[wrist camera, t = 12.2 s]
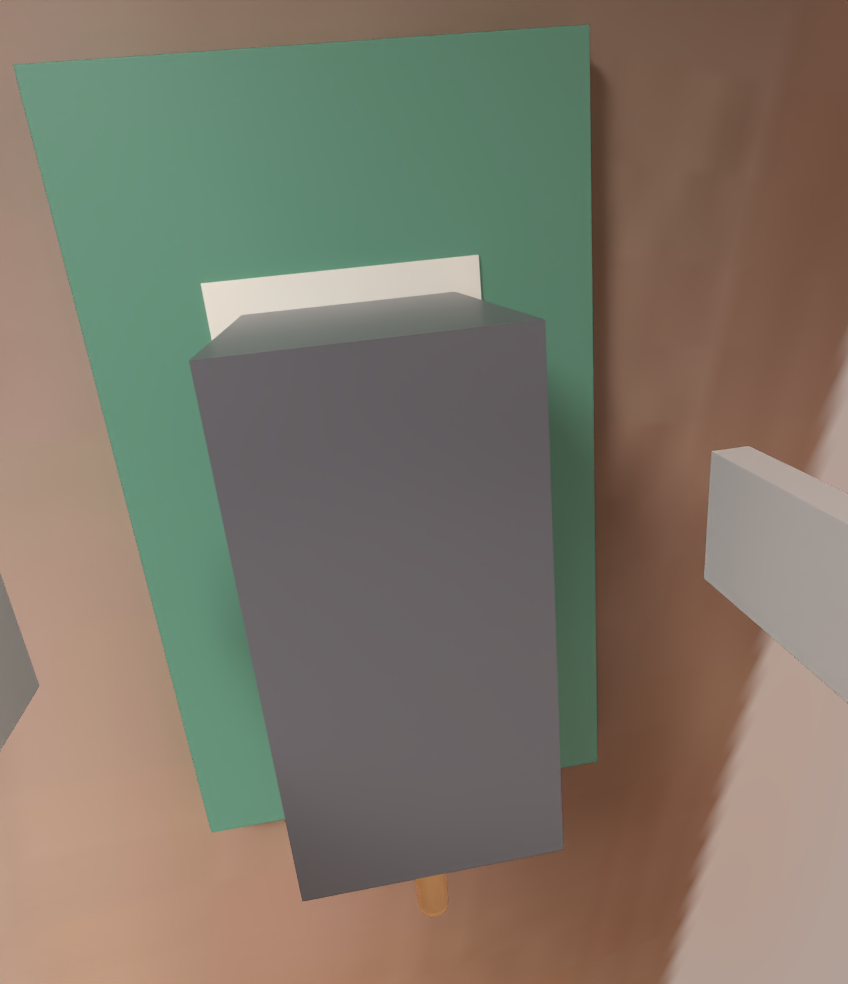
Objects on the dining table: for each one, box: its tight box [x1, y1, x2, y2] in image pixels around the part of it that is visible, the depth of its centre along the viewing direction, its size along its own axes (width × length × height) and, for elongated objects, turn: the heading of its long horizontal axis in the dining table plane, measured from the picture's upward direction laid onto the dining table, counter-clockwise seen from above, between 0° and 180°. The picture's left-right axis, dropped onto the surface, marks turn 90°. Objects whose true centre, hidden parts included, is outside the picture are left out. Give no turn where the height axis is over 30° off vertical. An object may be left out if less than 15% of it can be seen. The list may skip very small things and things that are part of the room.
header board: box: [13, 24, 597, 833], centre depth 17 cm, size 20×12×5 cm, turn 5°
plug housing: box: [189, 292, 563, 917], centre depth 15 cm, size 13×5×7 cm, turn 5°
